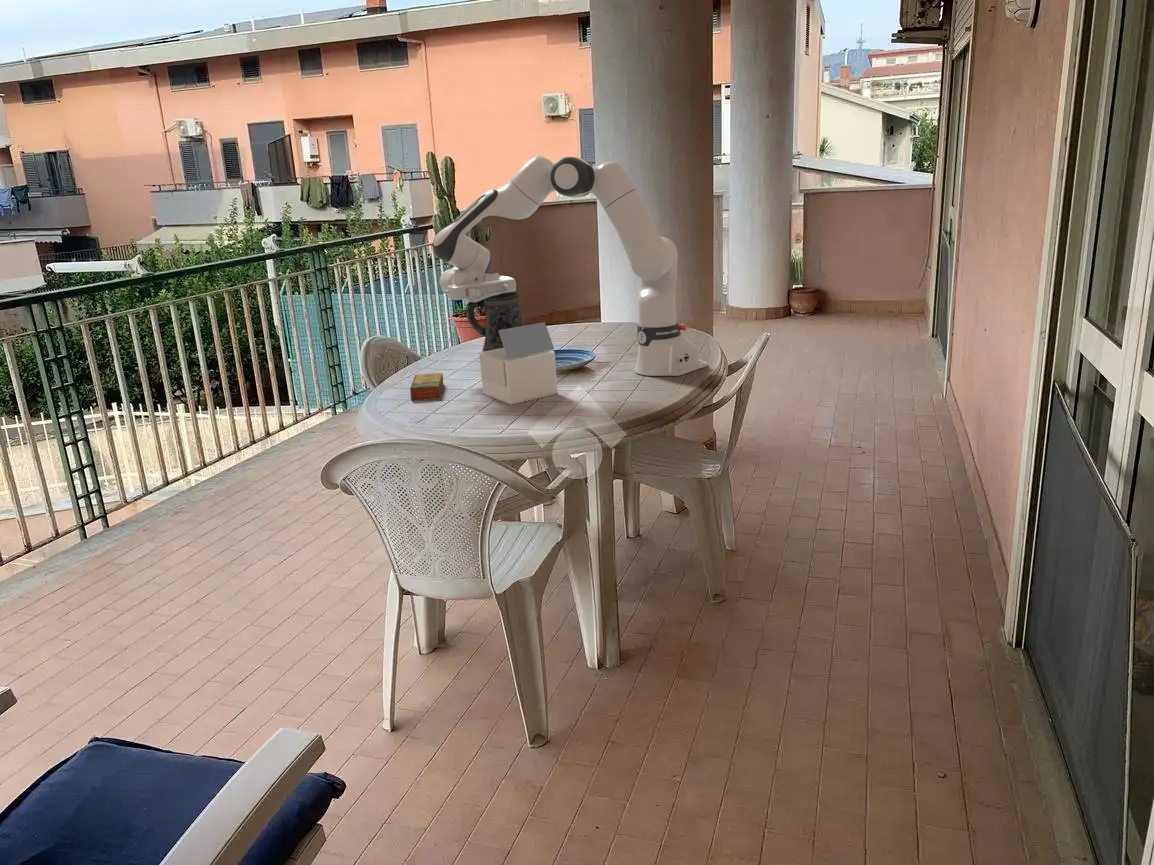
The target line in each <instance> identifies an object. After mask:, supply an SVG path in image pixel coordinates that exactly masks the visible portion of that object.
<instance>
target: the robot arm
mask: <svg viewBox="0 0 1154 865" xmlns="http://www.w3.org/2000/svg"><path fill="white" fill-rule="evenodd" d="M553 192H557V193H559V194H560V195H561V196H564V197H569V198H575V199H576V198H580V197H581V198H582V197H585V196H588V195H589V194H592V195H593V196H594V197H595V198H596V199H597V200H598V201H599V203H600V205H601V207H602V208H603V210H604V212H605V213H606V215H607V217H608V219H609V221H610V222H611V223H612V226H613V227H614V229H615V231H616V232H617V234H618V236H619V238H620V241H621V243H622V247H623V249H624V251H625V253H626V255H627V258H628V260H629V263H630V265H631V269H632V271H633V273H634V274H635V275H636V276H637V277H638V278H639V287H638V295H637V314H638V316H637V317H638V318H637V319H638V320H637V321H638V324H637V326H636V328H637V329H636V330H637V331H636V332H637V333H636V334H637V335H636V336H637V340H638V342H637V343H638V348H637V349H638V350H637V359H636V364H635V369H634V372H635V373H636V374H638V375H641V376H649V377H650V376H651V377H662V376H666V377H667V376H669V377H670V376H671V377H672V376H673V377H678V376H679V377H680V376H682V375H685V374H688V373H691V372H693V371H696V370H700V369H702V368H705V367H707V366H708V362H707V361H705V360H703V359H700V354H699V349H698V347H697V345H696V344H694V343H693V342H692V341H690V340H689V339H688V338H686V337H685V336H683V335H682V332H683V331H684V332H685V331H687V329H688V325H687V324H686V323H677V314H676V309H677V308H676V307H677V306H676V290H677V282H678V280H677V279H678V278H677V277H678V263H679V262H678V261H679V260H678V259H679V257H678V256H679V252H678V248H677V246H676V245H675V243H674V242H673V240H672V239H670V238H667V237H665V236H661V235H660V232H659V230H658V228H657V225H656V223H655V220H654V217H653V214H652V211H651V210H650V209H649V206H648V205H647V203H646V200H644V198H643V196H642V194H641V193H640V191H639V189H638V187H637V186H636V184H635V182H634V181H633V179H632V178H631V177H630V176H629V174H628V173H627V172H626V170H625V169H624V168H623V167H622V166H621V164H619V163H618V162H617V161H613V160H610V161H609V160H608V161H605V162H604V161H603V163H600V164H599V165H597V166H593V164H592V163H591V162H590V161H588V160H585V159H584V158H582V157H577V156H565V157H562V158H560V159H558V160H557V161H556V162H555V163H554V162H553V161H551V160H550V159H549V158H546V157H545V156H541V155H537V156H533V157H531V159H530V160H528V161H527V162H526V163H525V164H523V166H522V167H520V168H519V169H518V171H517V172H516V173H515V174H514V175H513V177H512V178H511V179H510V180H509V181H508V182H506V184H505V185H503V186H501V187H499V188H496V189H489V190H486V191H485V192H484V193H483V194H482V195H480V196H479V197H478V198H477V199H475V201H473V202H472V204H470V205H469V206H468V207H467V208H466V209H464V210H463V211H462V212H461V214H459V215H458V216H457V217H456V218H455V219H453V221H451V222H450V223H448V225H446V226H444V227H442V228H441V229H440V230H439V231H438V232H437V233H436V235H435V236H434V238H433V240H432V249H433V252H434V254H435V256H436V258H437V259H440V260H442V261H443V262H446V263H448V264H450V265H451V266H453V267H452V268H449V269H446V270H445V271H443V272H442V273H441V275H440V277H439V287H440V289H441V291H442V294H445V295H447V297H448V298H449V299H451V300H453V301H461V300H462V301H465V302H468V303H469V302H479V301H481V300H482V299H485V298H487V297H491V296H495V295H499V294H501V293H508V292H514V291H515V292H517V282H516V280H515V278H514V277H510V276H505V275H502V274H501V275H500V274H499V273H498V272H491V268H492V263H493V259H492V253H491V250H490V249H488V248H487V247H485V246H483V245H482V244H480V243H479V242H477V241H475V240H474V239H472V238H471V237H469V236H468V235H466V234H467V233H468V232H469V231H470V230H471V229H472V228H473V227H475V226H476V225H477V224H478V223H479V222H480V221H481V220H483V219H484V218H486V217H490V216H493V217H502V218H506V219H510V220H524V219H527V218H530V216H532V215H533V214H534V213H536V211H537V210H538V209H539V207H540V206H541V205H542V204H543V202H544V201H545V200H546V199H547V197H548V196H549V195H551V193H553ZM681 331H682V332H681Z"/></svg>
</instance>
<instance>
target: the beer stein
mask: <svg viewBox="0 0 1154 865" xmlns="http://www.w3.org/2000/svg"><path fill="white" fill-rule="evenodd" d="M519 301H520V295H519V293H518V292H517V291H514V292H508V293H501V294H499V295H495V296H491V297H487V298H485V299H482V300H481V301H479V302H469V301H468V303H467V304H466V306H467V307H466V317H467V320H468V322H469V324H470V325H471V326H472V327H473V329H474V330H476V332H477V333H479V334H480V335H481V336H482V337H484V343H483V347H482V351H481V352H484V351H490V350H495V349H500V348H504V346H503V343H502V340H501V338H500V335H499V332H498V331H499V330H503V329H509V328H514V327H520V326H524V323H523V318H522V314H521V311H520V307H519ZM483 306H484V308H485V323H484V324H485V327H484V326H482V325H481V324H480V323H479V322H478V320H477V319H476V317H475V316H474V310H475V308H478V307H483Z"/></svg>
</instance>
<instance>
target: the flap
mask: <svg viewBox="0 0 1154 865" xmlns="http://www.w3.org/2000/svg"><path fill="white" fill-rule="evenodd" d="M498 332H499V335H500V338H501V340H502V343H503V346H504V349H505V352H506V355H507V358H513V357H518V356H523V355H528V354H533V353H538V352H543V351H549V350H552V351H554V350H555V347H554V344H553V341H552V338H551V336H550V333H549V329H548V327H547V325H546V322H545V321H544V322H537V323H532V324H527V325H523V326H520V327H514V328H509V329H503V330H499V331H498Z"/></svg>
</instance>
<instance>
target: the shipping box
mask: <svg viewBox="0 0 1154 865" xmlns="http://www.w3.org/2000/svg"><path fill="white" fill-rule="evenodd" d="M479 361H480V362H479V363H480V372H481V382H482V383H481V384H482V392H483V393H482V394H483V395H485V396H487V397H491V398H493V399H496V400H498V401H500V402H502V403H506V404H508V405H511V406H512V404H513V405H517V404H521V403H525V402H524V401H526V402H529V401H528V400H530V401H534V400H538V399H537V398H539V399H541V397H543V398H546V396H547V397H551V396H555V395H554V394H556V395H558V394H559V393H558V381H557V380H558V378H557V366H556V365H557V364H556V352H555V351H554V350H549V351H543V352H538V353H533V354H528V355H523V356H518V357H513V358H507V355H506V352H505V349H504V348H500V349H495V350H490V351H484V352H482V351H480V352H479ZM550 395H551V396H550ZM533 399H534V400H533ZM520 402H521V403H520ZM516 403H517V404H516Z"/></svg>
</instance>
